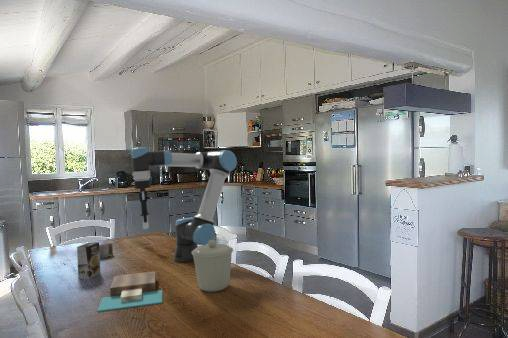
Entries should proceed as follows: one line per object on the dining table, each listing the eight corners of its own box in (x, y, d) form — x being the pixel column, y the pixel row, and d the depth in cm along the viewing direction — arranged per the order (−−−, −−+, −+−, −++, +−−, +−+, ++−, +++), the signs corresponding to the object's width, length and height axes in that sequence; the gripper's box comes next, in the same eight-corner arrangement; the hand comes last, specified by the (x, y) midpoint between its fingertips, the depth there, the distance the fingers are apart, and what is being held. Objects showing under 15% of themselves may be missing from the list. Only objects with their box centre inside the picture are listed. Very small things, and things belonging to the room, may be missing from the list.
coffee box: (89, 279, 171) (87, 246, 171) (77, 279, 172) (76, 246, 172) (101, 273, 180) (99, 242, 179) (90, 273, 181) (88, 241, 181)
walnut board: (155, 279, 168) (155, 271, 168) (155, 291, 152) (154, 282, 152) (115, 284, 163) (115, 275, 163) (110, 297, 148) (110, 287, 148)
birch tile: (142, 292, 151) (141, 287, 151) (141, 299, 143) (141, 294, 143) (122, 295, 149) (122, 290, 149) (120, 302, 141) (120, 297, 141)
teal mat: (162, 291, 153) (162, 290, 153) (162, 303, 140) (162, 301, 140) (102, 298, 147) (102, 297, 147) (97, 311, 134) (97, 310, 134)
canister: (240, 282, 160) (238, 236, 160) (224, 297, 143) (222, 246, 143) (204, 278, 166) (203, 234, 166) (185, 293, 149) (183, 244, 148)
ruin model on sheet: (93, 260, 205) (92, 244, 205) (92, 259, 207) (91, 243, 207) (113, 256, 213) (112, 240, 212) (111, 255, 215) (110, 239, 215)
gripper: (134, 179, 174) (138, 226, 175) (133, 181, 161) (137, 232, 163) (150, 178, 176) (153, 225, 177) (150, 180, 163) (154, 230, 165)
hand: (146, 228), depth 170 cm, fingers closed
